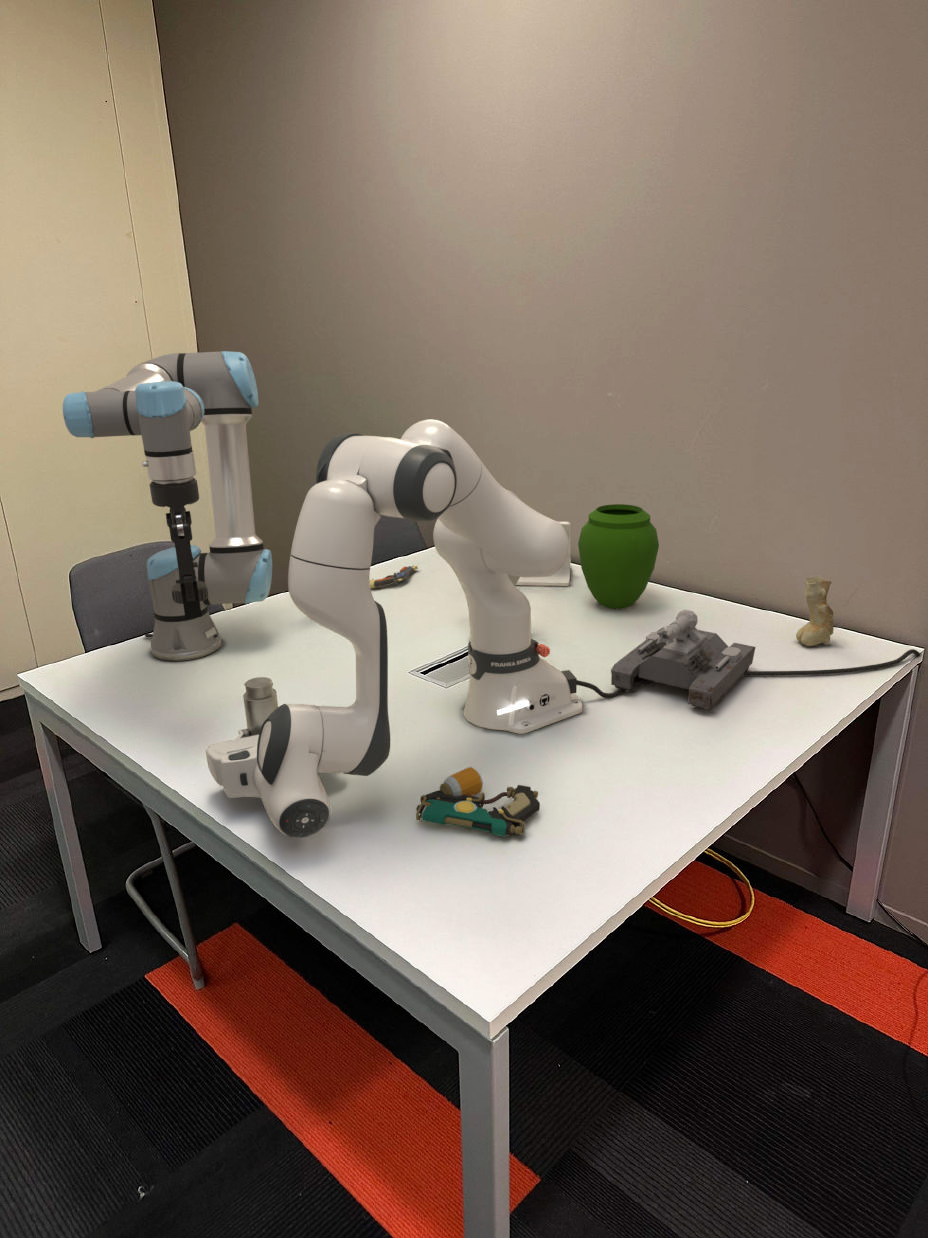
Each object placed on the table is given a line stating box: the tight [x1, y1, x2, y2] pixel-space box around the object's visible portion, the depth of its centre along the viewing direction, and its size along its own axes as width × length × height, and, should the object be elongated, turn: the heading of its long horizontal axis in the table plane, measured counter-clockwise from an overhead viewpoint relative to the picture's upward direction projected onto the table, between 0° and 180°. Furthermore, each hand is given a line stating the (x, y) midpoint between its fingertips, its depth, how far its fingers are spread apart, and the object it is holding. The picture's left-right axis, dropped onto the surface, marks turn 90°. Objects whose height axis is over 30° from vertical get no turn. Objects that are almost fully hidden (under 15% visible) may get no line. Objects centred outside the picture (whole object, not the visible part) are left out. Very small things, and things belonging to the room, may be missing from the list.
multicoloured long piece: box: [369, 565, 419, 589], centre depth 238 cm, size 3×19×10 cm
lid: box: [172, 581, 208, 604], centre depth 148 cm, size 6×6×2 cm
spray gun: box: [415, 766, 541, 838], centre depth 128 cm, size 4×17×15 cm
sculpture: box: [795, 576, 835, 647], centre depth 185 cm, size 6×7×15 cm
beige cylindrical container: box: [242, 676, 279, 736], centre depth 142 cm, size 5×5×16 cm
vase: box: [577, 503, 660, 610], centre depth 210 cm, size 20×20×24 cm
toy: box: [610, 609, 756, 711], centre depth 169 cm, size 25×20×15 cm
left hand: (192, 610), depth 149 cm, fingers closed on lid, 6 cm apart
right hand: (263, 729), depth 143 cm, fingers closed on beige cylindrical container, 5 cm apart
